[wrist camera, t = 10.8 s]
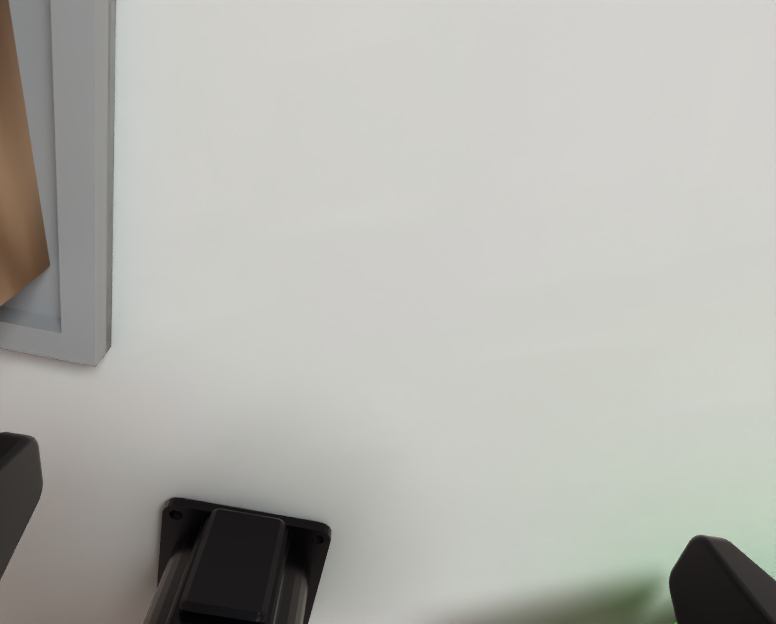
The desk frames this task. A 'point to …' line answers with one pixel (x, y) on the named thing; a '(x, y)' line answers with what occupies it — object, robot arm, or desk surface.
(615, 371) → the desk surface
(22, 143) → the wooden box
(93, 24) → the display tray
